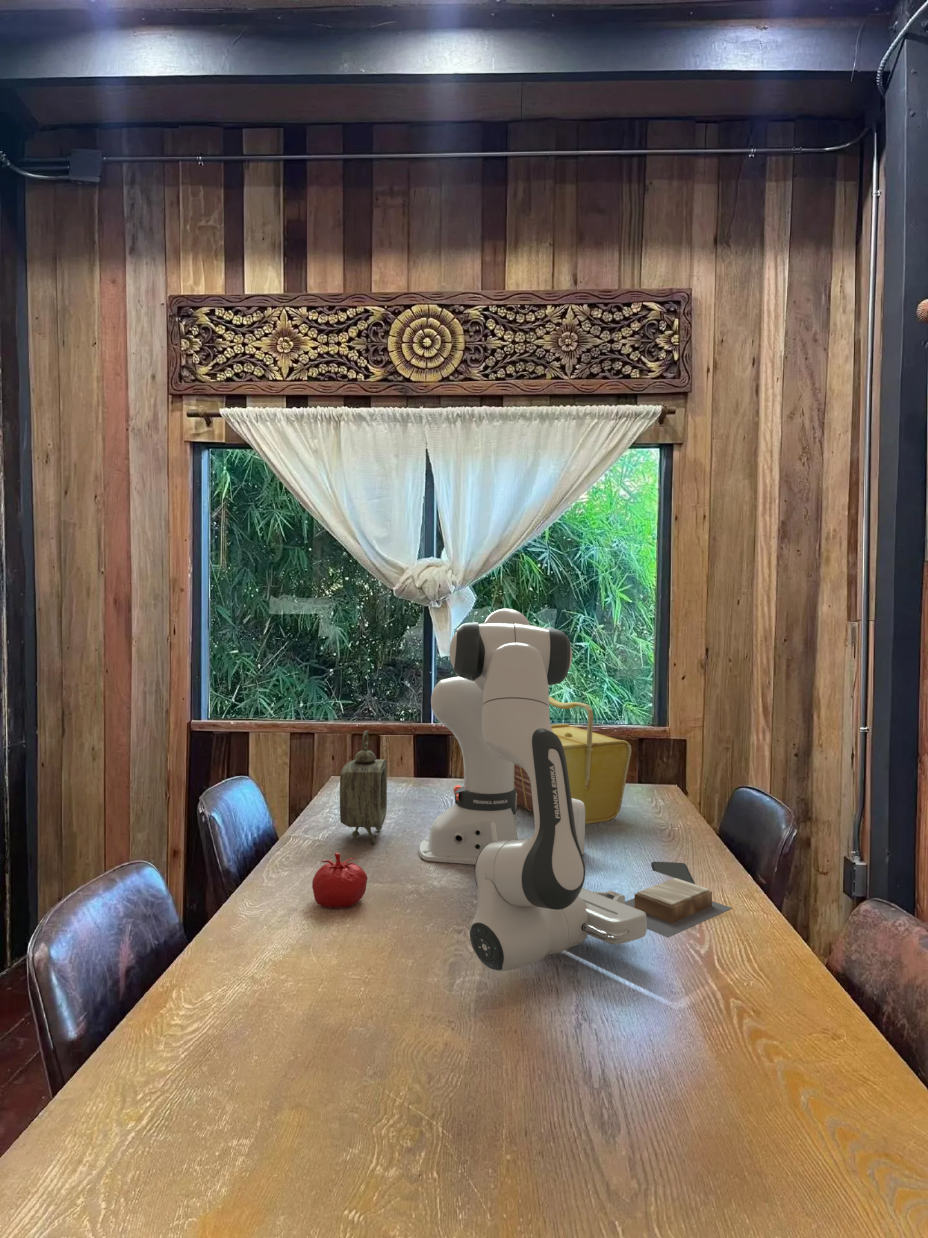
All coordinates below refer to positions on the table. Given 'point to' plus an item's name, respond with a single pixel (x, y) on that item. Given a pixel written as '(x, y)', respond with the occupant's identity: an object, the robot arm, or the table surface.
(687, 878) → the smartphone
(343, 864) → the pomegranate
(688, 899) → the wooden block
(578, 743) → the picnic basket
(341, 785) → the tabletop clock
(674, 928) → the mat
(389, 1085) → the table surface
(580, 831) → the photo printer
